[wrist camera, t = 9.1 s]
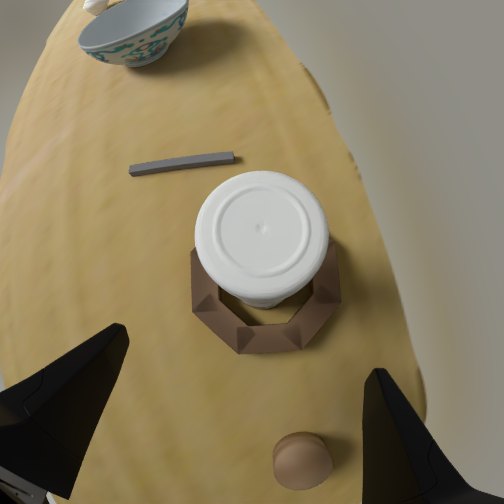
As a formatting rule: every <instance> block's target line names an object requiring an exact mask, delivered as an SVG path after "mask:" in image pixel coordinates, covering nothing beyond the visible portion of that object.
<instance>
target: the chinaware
mask: <svg viewBox="0 0 504 504" xmlns="http://www.w3.org/2000/svg"><path fill="white" fill-rule="evenodd" d="M188 2H189V0H125V1H123V2H121V3H119V4H117V5H115V6H113V7H111V8H109V9H108V10H106V11H105V12H103V13H102V14H100V15H99V16H97V17H96V18H95V19H94V20H92V21H91V22H90V23H89V24H88V25H87V26H86V27H85V28H84V29H83V31H82V32H81V34H80V35H79V38H78V45H79V46H80V47H81V48H82V49H83V50H84V51H85V52H86V53H87V54H88V55H90V56H91V57H93V58H95V59H96V60H99V61H101V62H104V63H108V64H115V65H126V66H128V67H140V66H144V65H147V64H149V63H152V62H154V61H155V60H157V59H159V58H160V57H161V56H163V55H164V54H165V53H166V51H167V50H168V47H169V45H170V44H171V43H172V41H173V40H174V39H175V38H176V37H177V35H178V34H179V32H180V31H181V29H182V27H183V25H184V23H185V20H186V17H187V12H188Z"/></svg>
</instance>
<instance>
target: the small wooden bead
mask: <svg viewBox="0 0 504 504" xmlns="http://www.w3.org/2000/svg"><path fill="white" fill-rule="evenodd" d="M273 466H274V475H275V478H276V480H277V481H278V482H279V483H280V484H281V485H282V486H284V487H286V488H288V489H293V490H306V489H310V488H313V487H315V486H317V485H319V484H321V483H322V482H324V481H325V480H326V479H327V478H328V476H329V475H330V473H331V471H332V467H333V461H332V458H331V456H330V454H329V452H328V450H327V448H326V446H325V444H324V442H323V441H322V439H321V438H320V437H318V436H317V435H315V434H313V433H309V432H296V433H292V434H289V435H287V436H285V437H284V438H282V439H281V440H280V441H279V442H278V443H277V444H276V446H275V448H274V451H273Z"/></svg>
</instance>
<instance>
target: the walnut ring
mask: <svg viewBox="0 0 504 504" xmlns="http://www.w3.org/2000/svg"><path fill="white" fill-rule="evenodd" d="M191 289H192V312H193V313H194V314H195V315H196V316H197V317H198V318H199V319H200V320H201V321H202V322H203V323H204V324H205V325H206V326H208V327H209V328H210V329H211V330H212V331H213V332H214V333H215V334H216V335H217V336H218V337H220V338H221V339H222V340H223V341H224V342H225V343H226V344H227V345H228V346H230V347H231V348H232V349H233V350H234V351H235V352H236V353H238V354H253V353H269V352H282V351H294V350H302V349H303V348H304V346H305V345H306V344H307V343H308V342H309V341H310V340H311V338H312V337H313V336H314V335H315V334H316V332H317V331H318V330H319V329H320V328H321V326H322V325H323V324H324V323H325V322H326V320H327V319H328V318H329V317H330V315H331V314H332V313H333V312H334V310H335V309H336V308H337V307H338V305H339V304H340V303H341V293H340V283H339V274H338V265H337V257H336V249H335V242H334V241H333V240H331V239H330V238H329V239H328V247H327V252H326V255H325V258H324V260H323V262H322V265H321V266H320V268H319V270H318V271H317V272H316V274H315V275H314V276H313V278H312V279H311V280H310V290H311V296H310V297H309V298H308V299H307V300H306V302H305V303H304V304H303V305H302V306H301V307H300V309H299V310H298V311H297V312H296V313H295V315H294V316H293V317H292V318H291V319H290V320H289V321H288V323H285V324H272V325H257V326H249V325H247V324H246V323H245V322H244V321H243V320H242V319H241V318H240V317H238V316H237V315H236V314H235V313H234V312H233V311H232V310H231V309H230V308H228V307H227V306H226V305H225V304H224V303H223V302H222V301H221V287H220V286H219V285H218V284H217V283H216V282H215V281H214V280H213V279H212V278H211V277H210V276H209V275H208V273H207V272H206V271H205V269H204V267H203V266H202V264H201V261H200V259H199V257H198V253H197V250H196V247H195V248H194V249H193V250H192V251H191Z"/></svg>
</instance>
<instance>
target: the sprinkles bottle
mask: <svg viewBox="0 0 504 504" xmlns="http://www.w3.org/2000/svg"><path fill="white" fill-rule="evenodd" d="M328 239H329V231H328V223H327V219H326V216H325V213H324V210H323V208H322V206H321V204H320V203H319V201H318V200H317V198H316V197H315V196H314V194H313V193H312V192H311V191H310V190H309V189H308V188H307V187H306V186H304V185H303V184H302V183H300V182H299V181H297V180H296V179H293V178H291V177H289V176H287V175H284V174H281V173H277V172H272V171H252V172H247V173H243V174H240V175H237V176H234V177H232V178H230V179H228V180H227V181H225V182H223V183H222V184H221V185H219V186H218V187H217V188H216V189H215V190H214V191H213V192H212V193H211V194H210V195H209V196H208V198H207V199H206V200H205V202H204V204H203V205H202V207H201V209H200V212H199V214H198V217H197V221H196V226H195V245H196V250H197V253H198V257H199V259H200V261H201V264H202V266H203V267H204V269H205V271H206V272H207V273H208V275H209V276H210V277H211V278H212V279H213V280H214V281H215V282H216V283H217V284H218V285H219V286H220V287H221V288H223V289H224V290H225V291H227V292H228V293H230V294H231V295H233V296H235V297H237V298H240V299H241V301H242V302H244V303H245V304H246V305H248V306H250V307H253V308H256V309H269V308H272V307H274V306H276V305H278V304H279V303H281V302H282V301H283V300H284V299H285V298H287V297H289V296H291V295H293V294H294V293H296V292H298V291H299V290H300V289H301V288H303V287H304V286H305V285H306V284H307V283H308V282H309V281H310V280H311V279H312V278H313V276H314V275H315V274H316V272H317V271H318V270H319V268H320V266H321V265H322V262H323V260H324V258H325V255H326V252H327V247H328Z"/></svg>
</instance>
